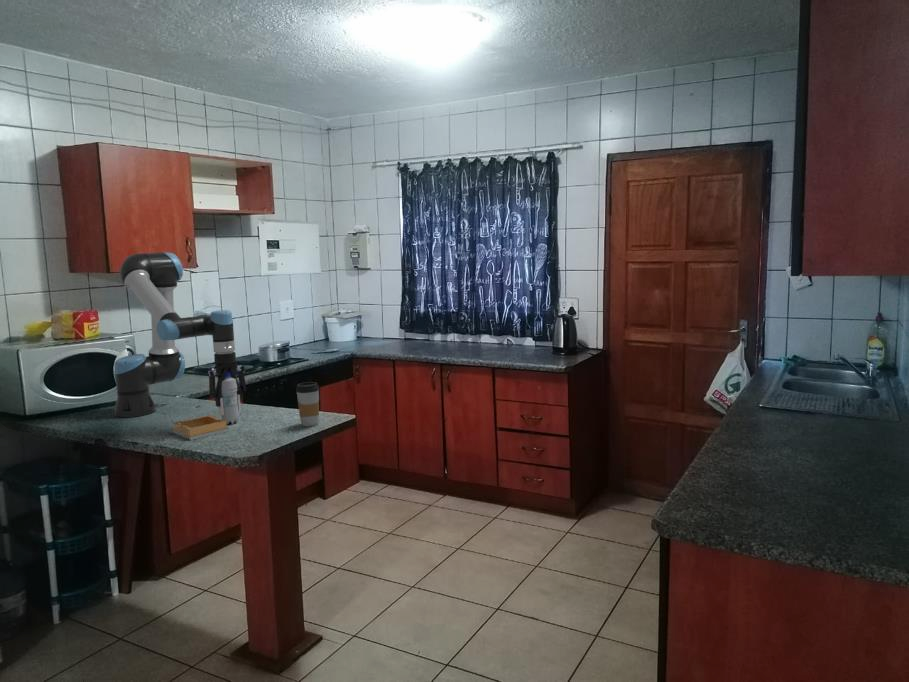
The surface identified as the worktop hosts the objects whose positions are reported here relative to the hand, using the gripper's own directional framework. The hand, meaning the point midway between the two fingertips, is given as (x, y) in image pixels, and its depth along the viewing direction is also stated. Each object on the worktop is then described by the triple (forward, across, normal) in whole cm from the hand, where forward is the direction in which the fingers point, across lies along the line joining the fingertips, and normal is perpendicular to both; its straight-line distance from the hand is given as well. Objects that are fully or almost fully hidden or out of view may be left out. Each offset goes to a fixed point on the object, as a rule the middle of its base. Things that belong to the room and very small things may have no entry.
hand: (230, 412), depth 248 cm
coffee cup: (+4, +18, -26) cm, 32 cm away
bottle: (+4, 0, 0) cm, 4 cm away
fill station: (+4, -13, -3) cm, 14 cm away
